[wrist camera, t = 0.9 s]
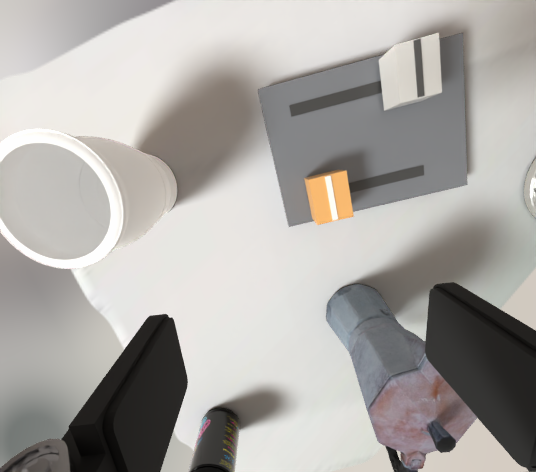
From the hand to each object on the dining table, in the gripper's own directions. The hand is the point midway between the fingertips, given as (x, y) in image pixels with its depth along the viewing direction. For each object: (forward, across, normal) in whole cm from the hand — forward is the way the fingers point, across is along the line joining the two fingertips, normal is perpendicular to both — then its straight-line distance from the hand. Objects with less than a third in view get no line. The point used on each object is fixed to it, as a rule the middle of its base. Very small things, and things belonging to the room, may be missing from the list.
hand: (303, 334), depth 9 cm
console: (+25, -12, -8) cm, 29 cm away
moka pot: (+26, -11, +17) cm, 33 cm away
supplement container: (+26, +12, +36) cm, 46 cm away
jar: (+27, +16, -5) cm, 31 cm away
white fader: (+22, -15, -13) cm, 30 cm away
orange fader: (+22, -7, -2) cm, 24 cm away
